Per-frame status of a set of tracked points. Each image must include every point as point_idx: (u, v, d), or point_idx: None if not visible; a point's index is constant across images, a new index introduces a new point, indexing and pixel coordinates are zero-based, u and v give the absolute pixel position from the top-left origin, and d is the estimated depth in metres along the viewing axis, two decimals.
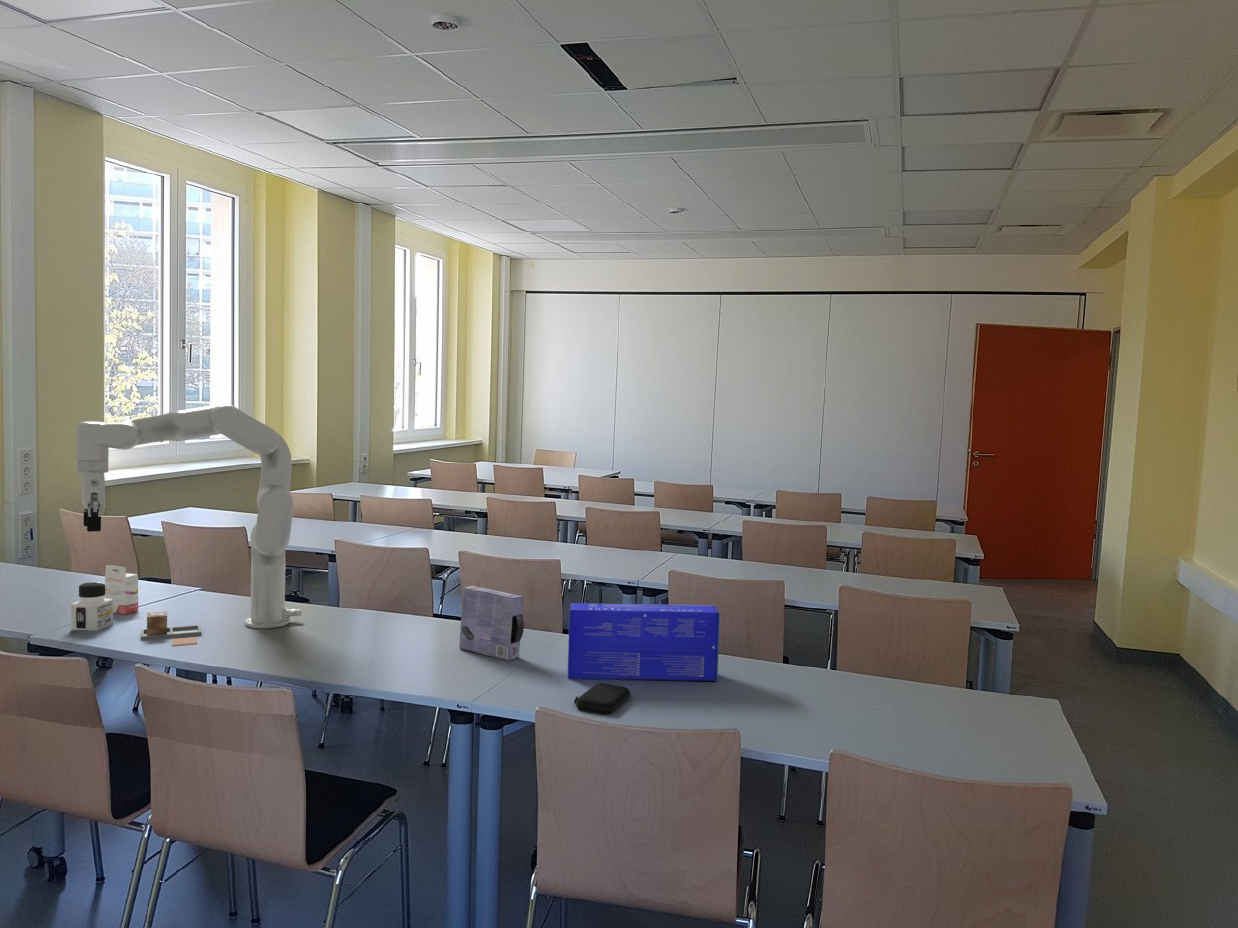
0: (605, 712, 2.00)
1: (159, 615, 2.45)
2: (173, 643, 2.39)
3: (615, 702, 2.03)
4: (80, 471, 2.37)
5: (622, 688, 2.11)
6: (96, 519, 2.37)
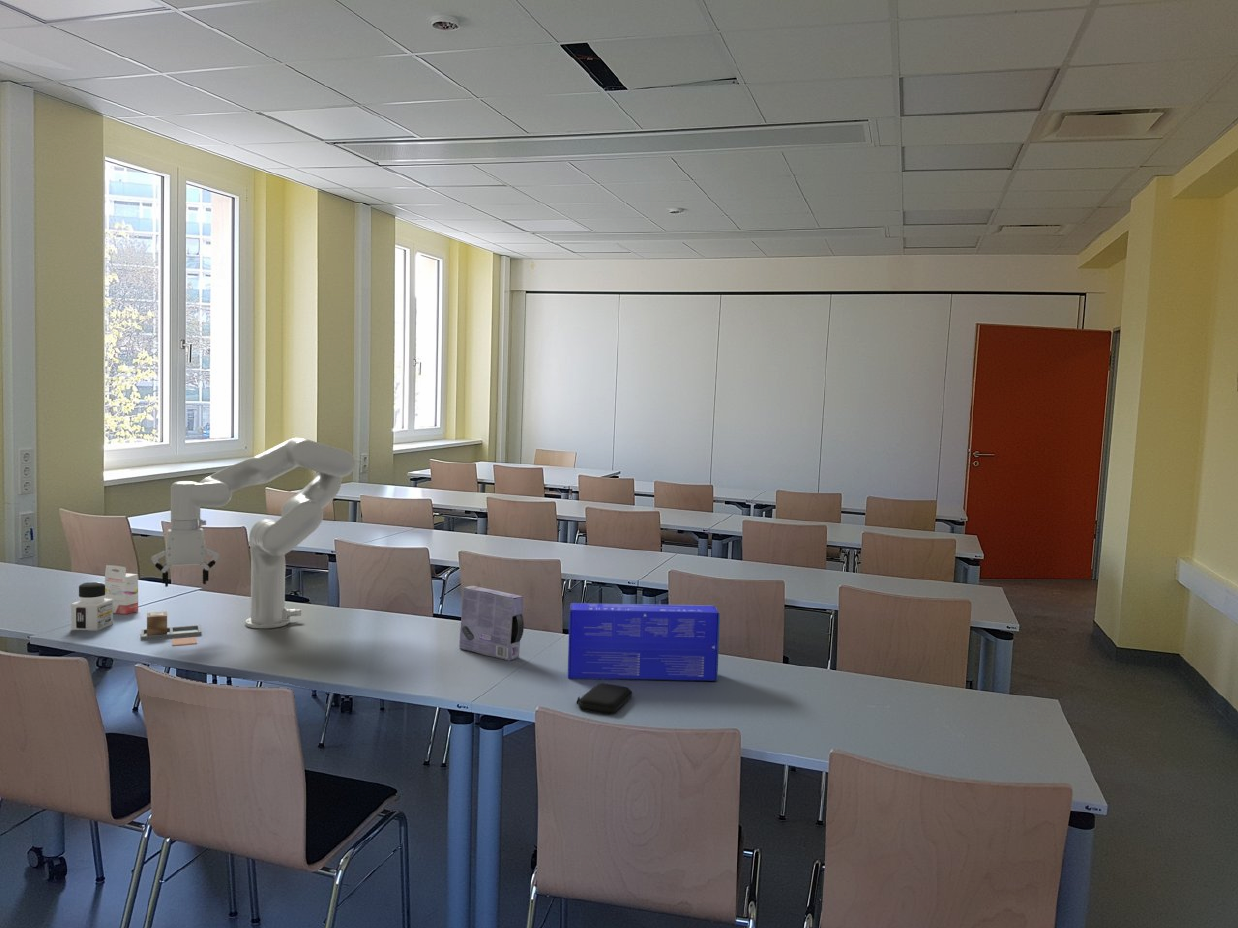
0: (608, 712, 2.00)
1: (159, 615, 2.45)
2: (173, 643, 2.39)
3: (618, 702, 2.03)
4: (194, 530, 2.46)
5: (624, 688, 2.11)
6: None
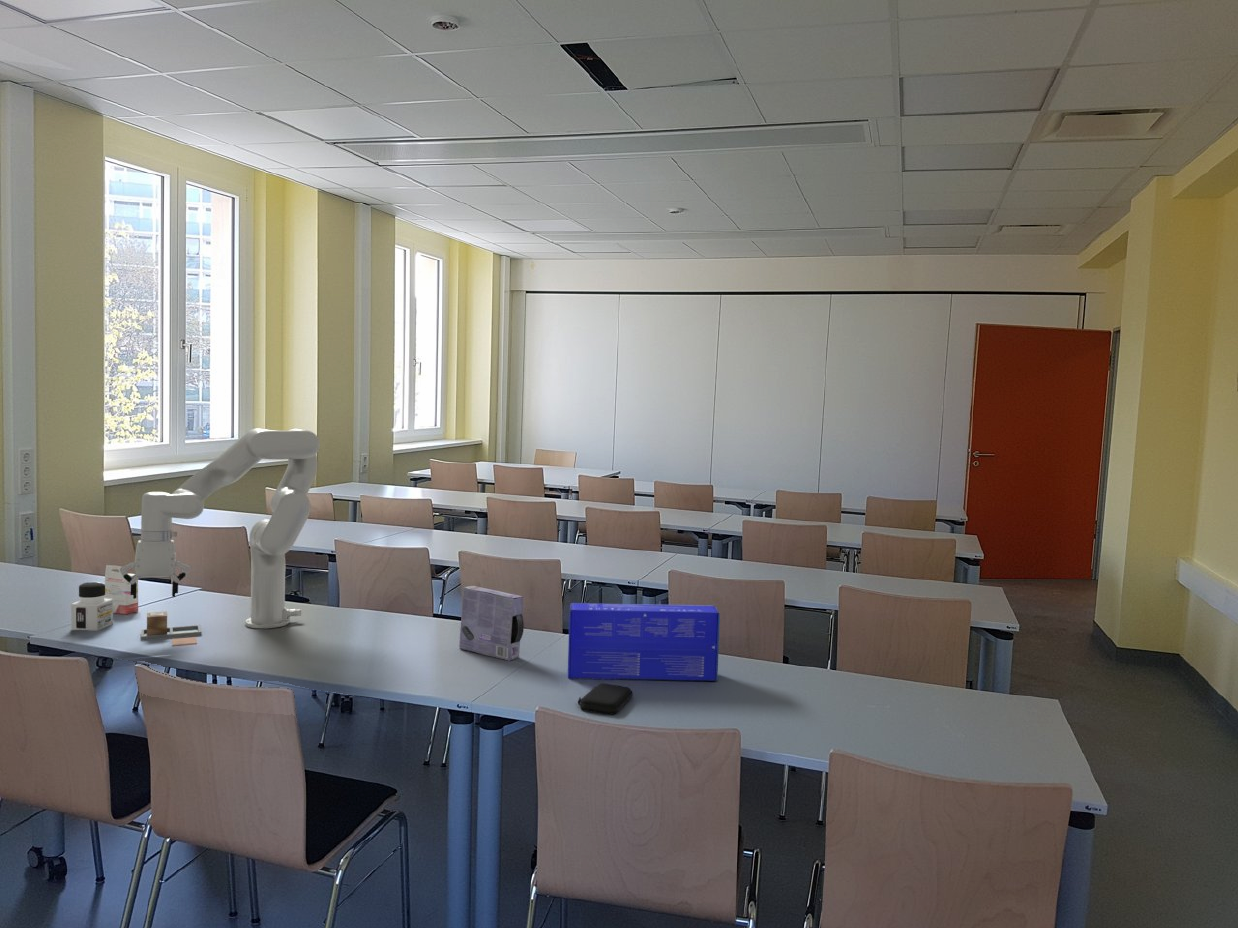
0: (610, 713, 2.00)
1: (159, 615, 2.45)
2: (173, 643, 2.39)
3: (619, 702, 2.03)
4: (165, 541, 2.43)
5: (624, 688, 2.11)
6: None
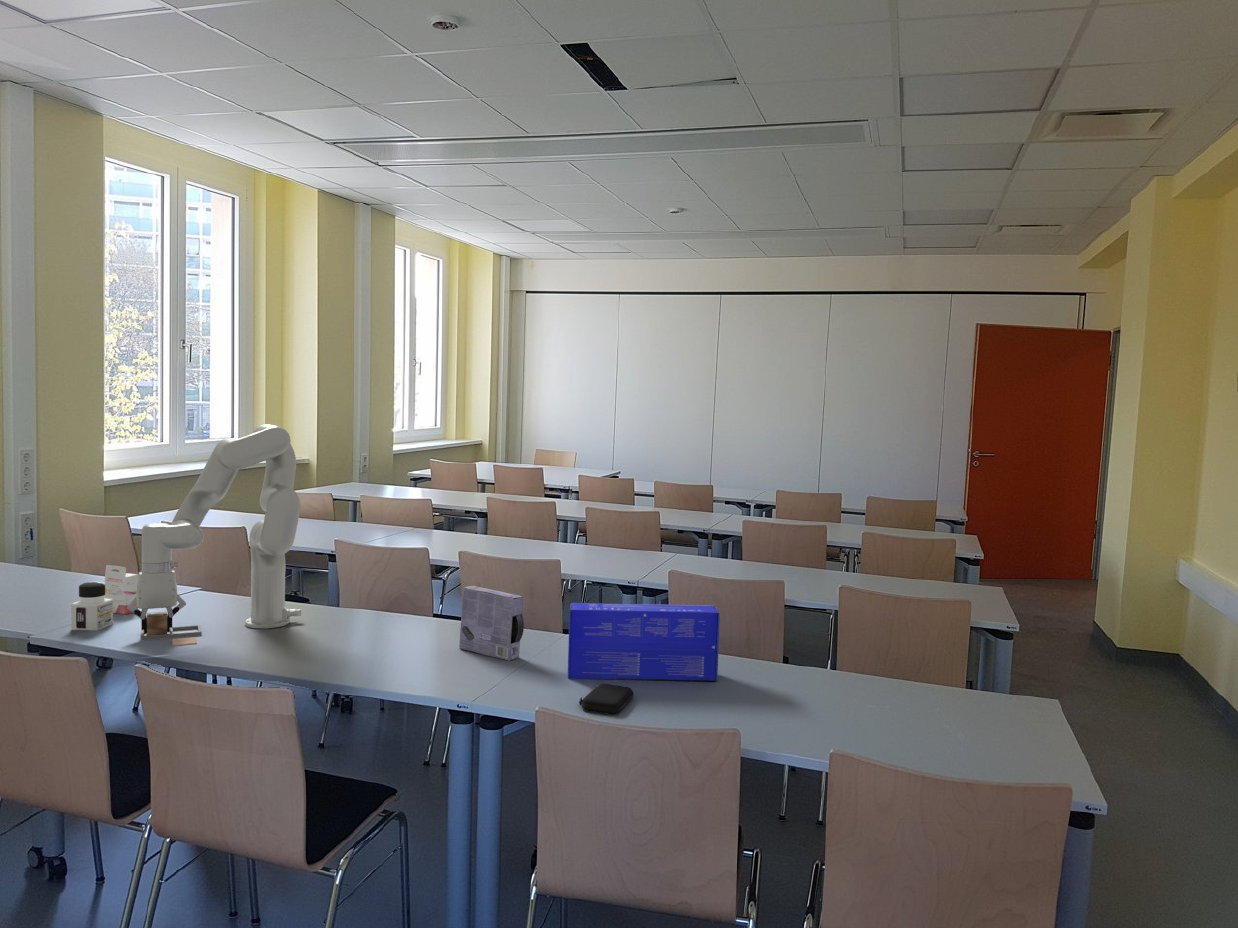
0: (611, 713, 2.00)
1: (159, 615, 2.45)
2: (173, 643, 2.39)
3: (621, 703, 2.03)
4: (166, 572, 2.44)
5: (626, 688, 2.11)
6: None
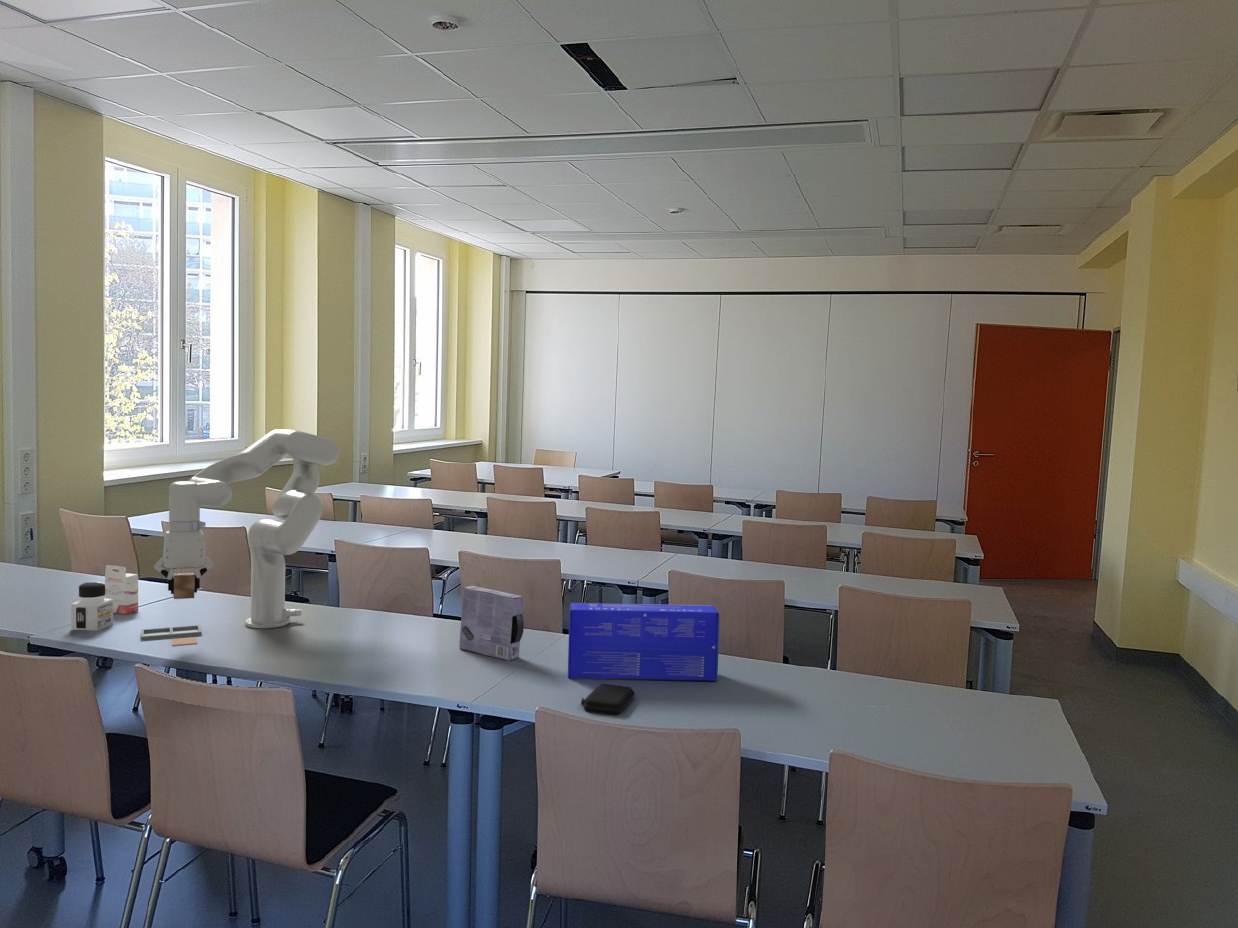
0: (614, 713, 2.00)
1: (186, 576, 2.39)
2: (173, 643, 2.39)
3: (623, 703, 2.03)
4: (193, 532, 2.38)
5: (627, 688, 2.11)
6: None
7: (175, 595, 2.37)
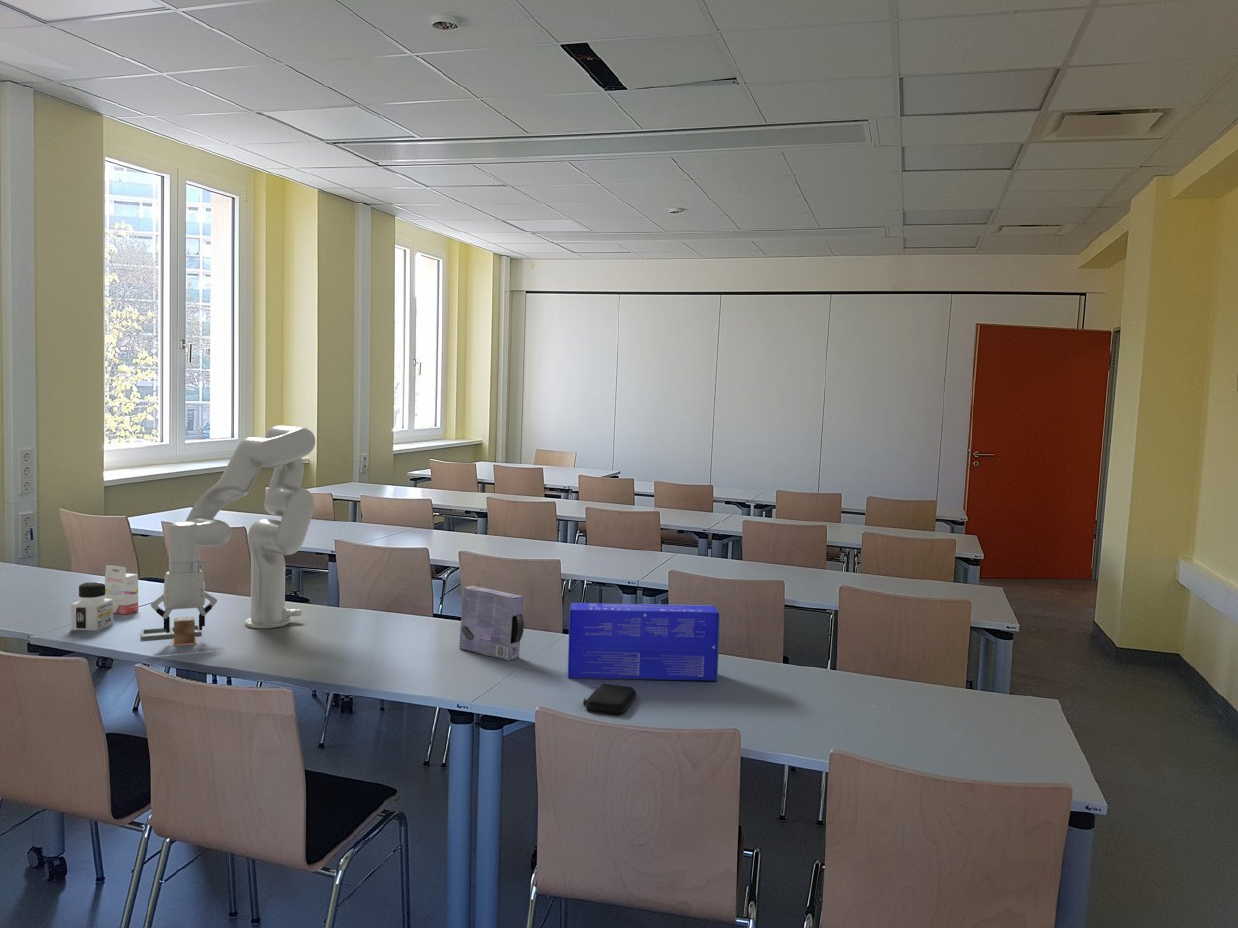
0: (616, 713, 2.00)
1: (187, 620, 2.40)
2: (173, 643, 2.39)
3: (625, 703, 2.03)
4: (193, 572, 2.39)
5: (628, 688, 2.11)
6: None
7: (176, 640, 2.38)
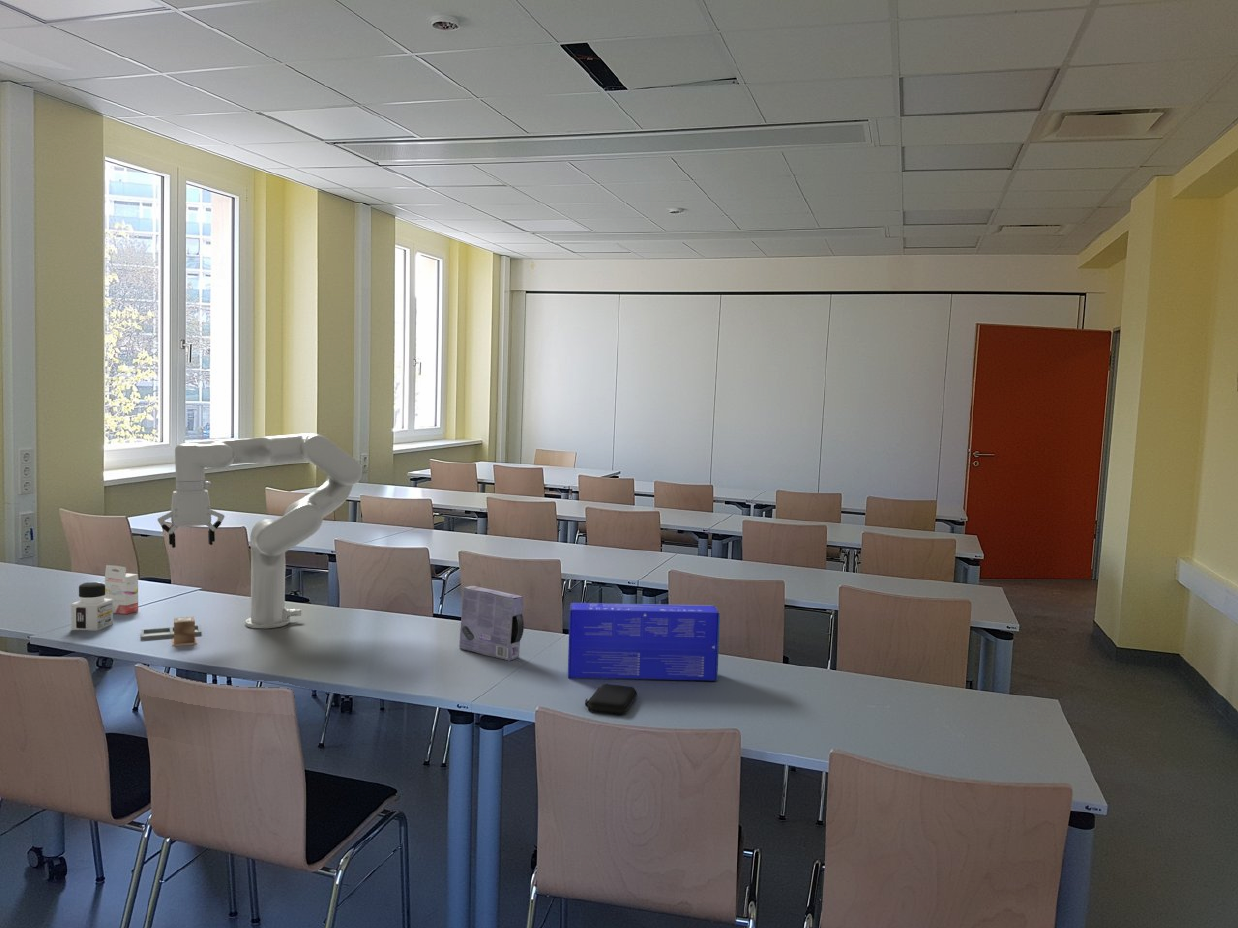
0: (619, 713, 2.00)
1: (187, 620, 2.40)
2: (173, 643, 2.39)
3: (627, 703, 2.03)
4: (200, 491, 2.49)
5: (629, 688, 2.11)
6: None
7: (176, 640, 2.38)
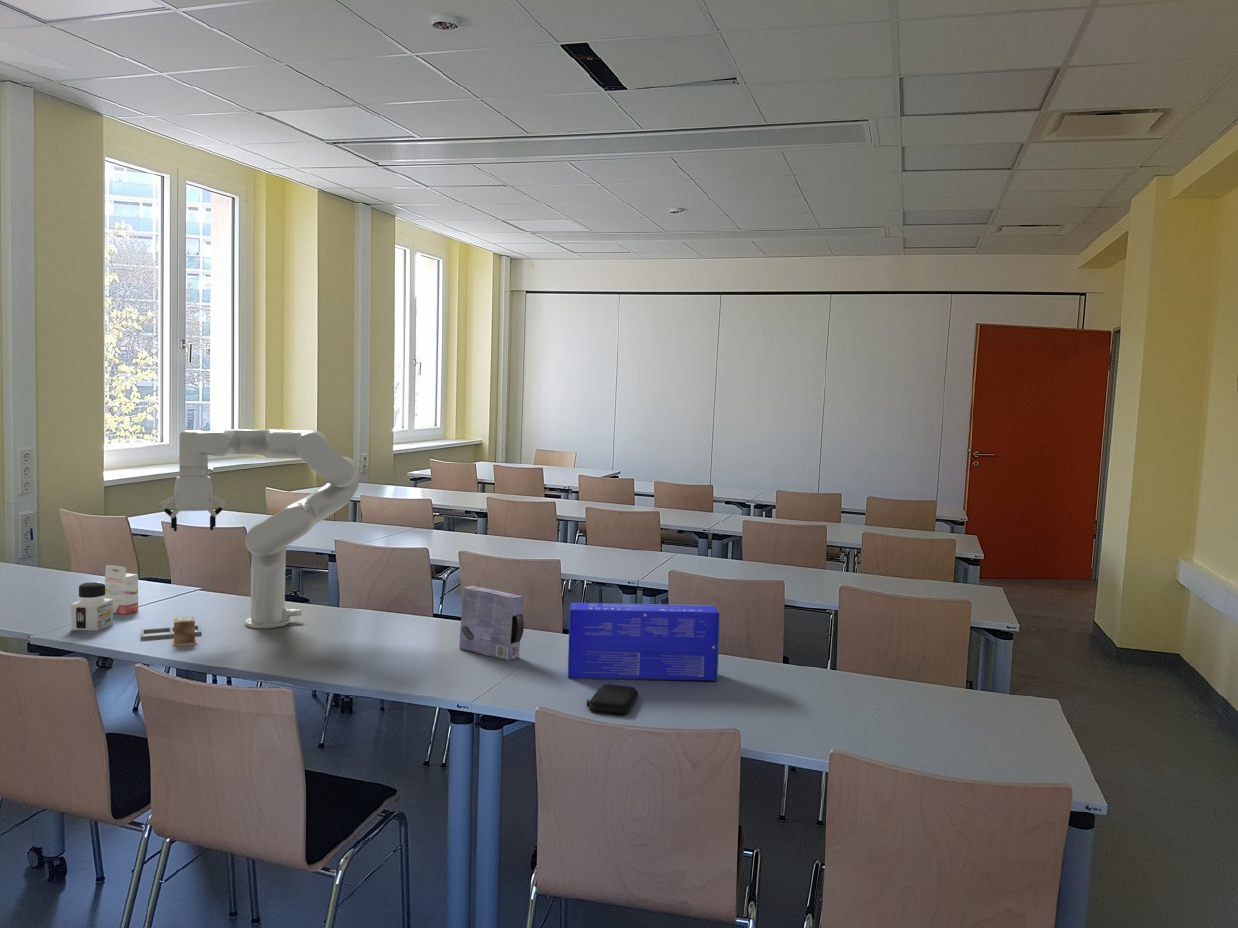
0: (620, 713, 2.00)
1: (187, 620, 2.40)
2: (173, 643, 2.39)
3: (628, 703, 2.03)
4: (202, 476, 2.55)
5: (630, 688, 2.11)
6: None
7: (176, 640, 2.38)
